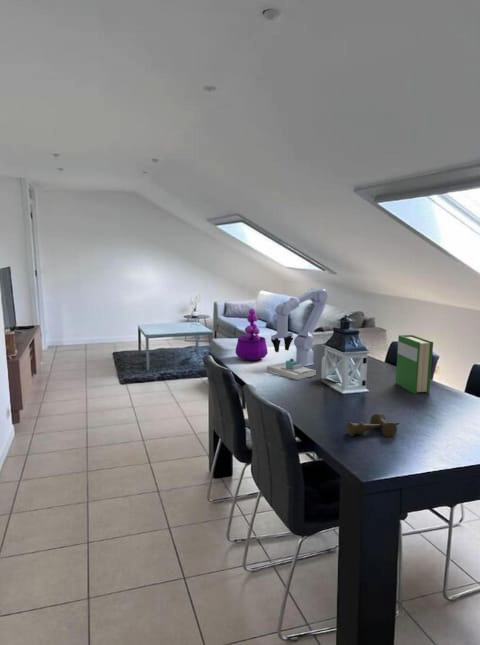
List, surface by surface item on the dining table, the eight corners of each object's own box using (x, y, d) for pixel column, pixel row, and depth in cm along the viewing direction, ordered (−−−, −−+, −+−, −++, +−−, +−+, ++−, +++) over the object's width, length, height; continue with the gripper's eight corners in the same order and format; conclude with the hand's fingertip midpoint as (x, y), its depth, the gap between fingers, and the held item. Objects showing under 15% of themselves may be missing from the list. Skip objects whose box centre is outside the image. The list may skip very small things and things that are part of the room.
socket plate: (285, 366, 265) (286, 361, 265) (318, 376, 247) (318, 370, 246) (266, 370, 257) (267, 364, 256) (299, 380, 238) (299, 374, 238)
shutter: (301, 368, 251) (301, 363, 251) (310, 371, 246) (311, 366, 245) (291, 370, 247) (291, 365, 246) (301, 373, 241) (301, 368, 241)
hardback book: (429, 393, 219) (433, 342, 216) (414, 394, 218) (418, 342, 214) (409, 382, 237) (412, 334, 233) (395, 383, 235) (398, 335, 232)
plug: (291, 370, 255) (291, 357, 254) (297, 372, 252) (297, 359, 251) (285, 372, 252) (285, 358, 251) (291, 373, 249) (291, 360, 248)
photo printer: (319, 378, 242) (320, 354, 240) (325, 377, 244) (326, 353, 242) (335, 383, 234) (336, 358, 232) (341, 382, 237) (342, 357, 235)
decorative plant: (230, 357, 287) (230, 307, 282) (258, 354, 294) (258, 306, 290) (244, 364, 270) (244, 311, 265) (272, 361, 278) (274, 309, 273)
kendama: (342, 431, 175) (392, 426, 179) (354, 442, 165) (406, 436, 170) (342, 416, 173) (392, 410, 178) (354, 426, 164) (407, 420, 169)
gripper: (286, 324, 267) (286, 348, 269) (267, 326, 258) (267, 351, 260) (295, 325, 261) (295, 350, 264) (276, 328, 252) (276, 353, 255)
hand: (281, 351), depth 261 cm, fingers open, 7 cm apart
